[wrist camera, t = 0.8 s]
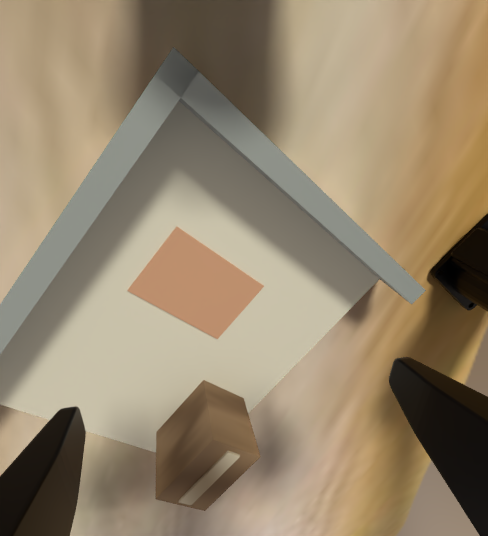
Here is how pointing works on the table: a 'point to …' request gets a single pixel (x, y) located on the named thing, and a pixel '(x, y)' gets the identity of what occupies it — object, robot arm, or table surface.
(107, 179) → the arena
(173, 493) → the walnut block
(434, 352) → the table surface
